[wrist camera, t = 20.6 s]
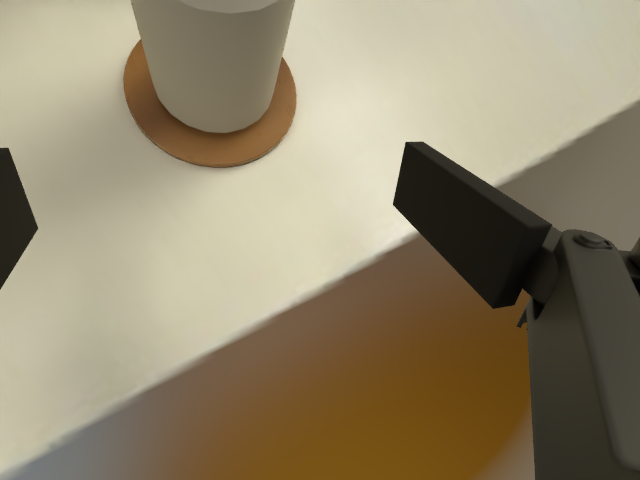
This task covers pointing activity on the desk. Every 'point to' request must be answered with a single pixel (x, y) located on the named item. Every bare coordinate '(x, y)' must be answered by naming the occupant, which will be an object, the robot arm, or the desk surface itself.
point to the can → (214, 57)
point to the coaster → (199, 143)
